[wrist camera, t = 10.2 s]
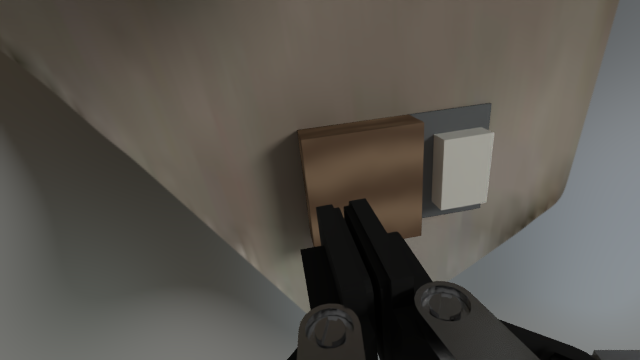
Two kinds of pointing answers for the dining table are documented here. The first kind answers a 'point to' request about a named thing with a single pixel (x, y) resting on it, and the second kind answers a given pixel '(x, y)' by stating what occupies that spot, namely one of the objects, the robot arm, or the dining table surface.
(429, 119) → the mat
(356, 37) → the dining table surface
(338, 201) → the panel
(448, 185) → the tile
